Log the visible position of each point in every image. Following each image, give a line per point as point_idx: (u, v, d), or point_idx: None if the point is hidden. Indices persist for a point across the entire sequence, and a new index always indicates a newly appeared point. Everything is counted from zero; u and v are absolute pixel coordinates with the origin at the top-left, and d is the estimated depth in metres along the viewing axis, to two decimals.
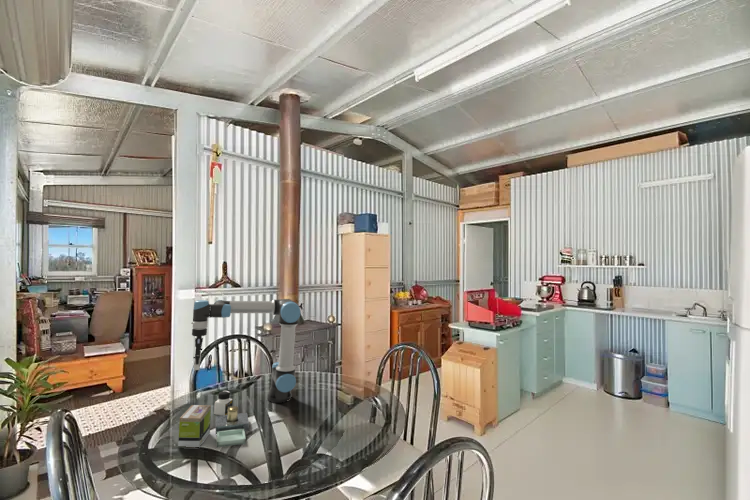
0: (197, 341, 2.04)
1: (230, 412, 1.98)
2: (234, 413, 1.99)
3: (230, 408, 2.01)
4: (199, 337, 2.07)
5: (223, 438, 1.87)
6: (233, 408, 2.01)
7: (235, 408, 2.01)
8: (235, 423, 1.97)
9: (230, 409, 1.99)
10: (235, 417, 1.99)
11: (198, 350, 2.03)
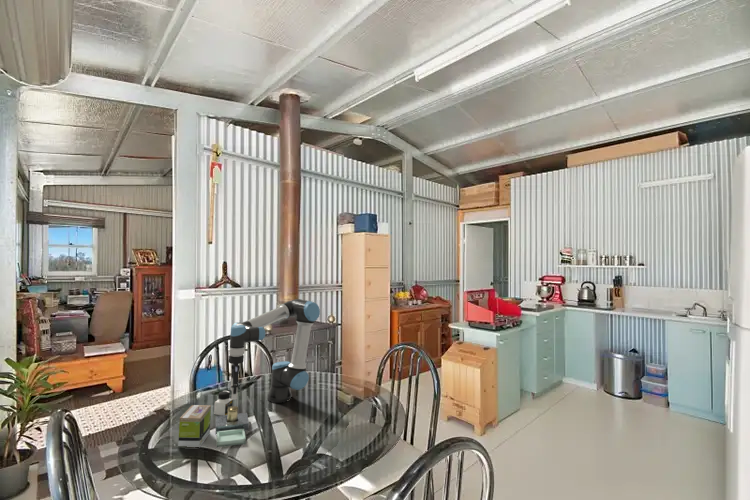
0: (235, 369, 1.94)
1: (230, 412, 1.98)
2: (234, 413, 1.99)
3: (230, 408, 2.01)
4: (236, 365, 1.98)
5: (223, 438, 1.87)
6: (233, 408, 2.01)
7: (235, 408, 2.01)
8: (235, 423, 1.97)
9: (230, 409, 1.99)
10: (235, 417, 1.99)
11: (236, 379, 1.93)
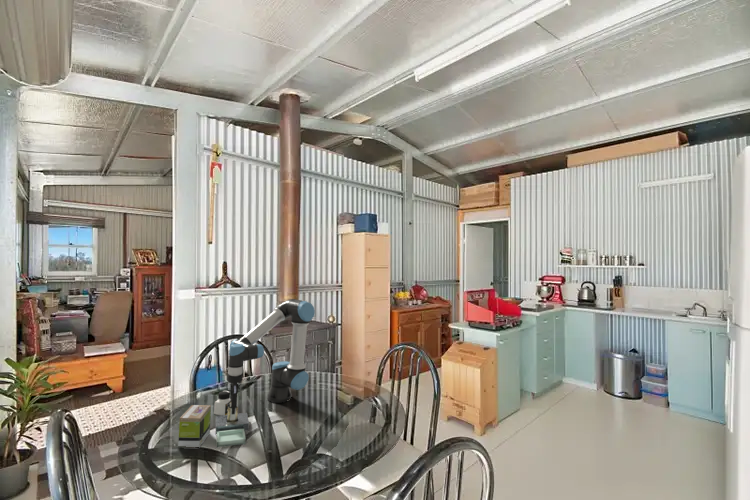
0: (233, 392, 1.95)
1: None
2: None
3: (230, 408, 2.01)
4: (235, 384, 1.98)
5: (223, 438, 1.87)
6: None
7: None
8: (235, 423, 1.97)
9: (230, 409, 1.99)
10: None
11: (234, 400, 1.95)
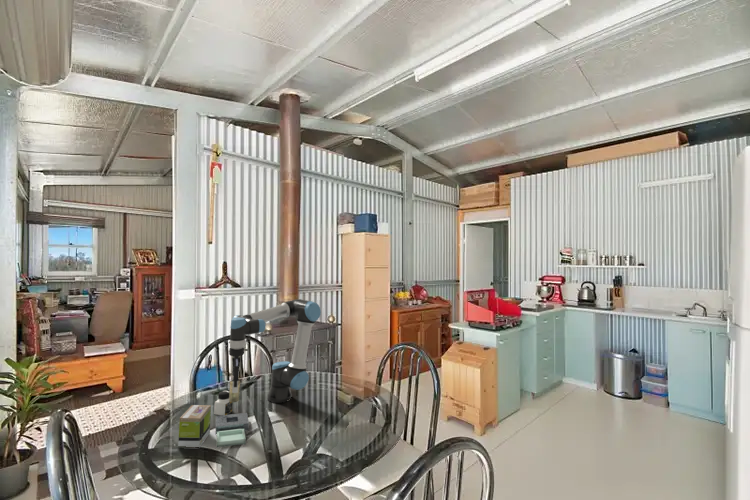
0: (235, 364, 1.95)
1: (232, 385, 1.99)
2: None
3: (232, 381, 2.01)
4: (237, 357, 1.98)
5: (223, 438, 1.87)
6: None
7: None
8: (235, 423, 1.97)
9: (232, 382, 2.00)
10: None
11: (237, 373, 1.95)
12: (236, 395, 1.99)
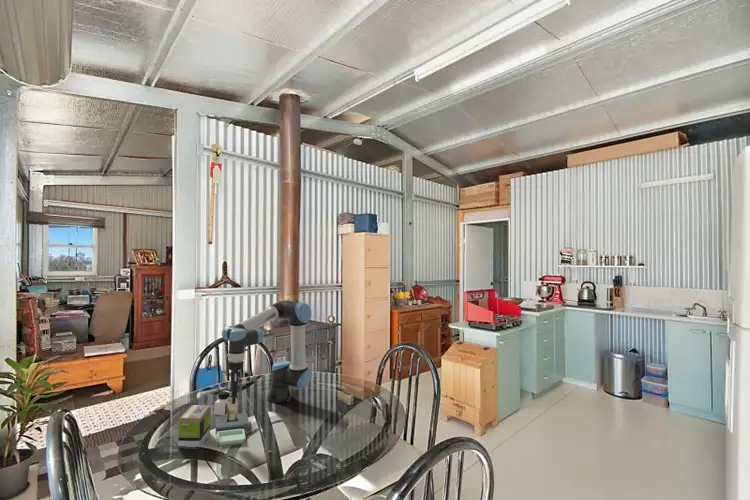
0: (234, 379, 1.81)
1: (230, 401, 1.85)
2: None
3: (230, 397, 1.87)
4: (236, 371, 1.84)
5: (223, 438, 1.87)
6: None
7: None
8: (235, 423, 1.97)
9: (230, 398, 1.86)
10: None
11: (235, 389, 1.82)
12: (234, 412, 1.86)
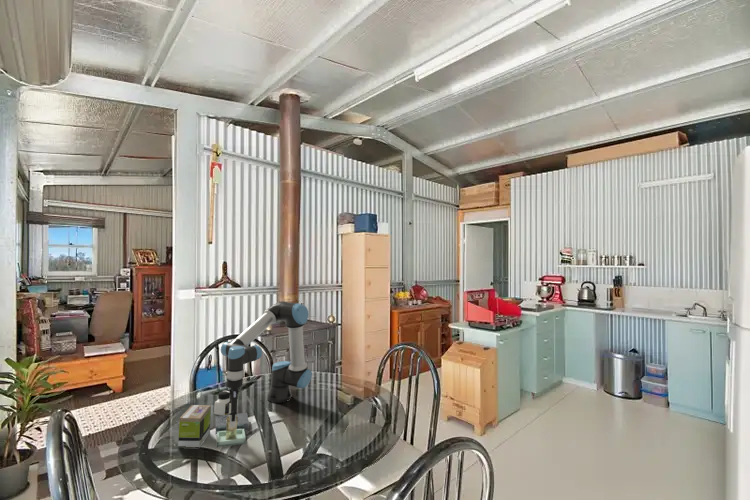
0: (233, 395, 1.81)
1: (229, 422, 1.85)
2: None
3: (229, 418, 1.87)
4: (235, 389, 1.84)
5: (223, 438, 1.87)
6: None
7: None
8: None
9: (229, 419, 1.86)
10: (234, 428, 1.86)
11: (234, 406, 1.80)
12: (233, 433, 1.86)
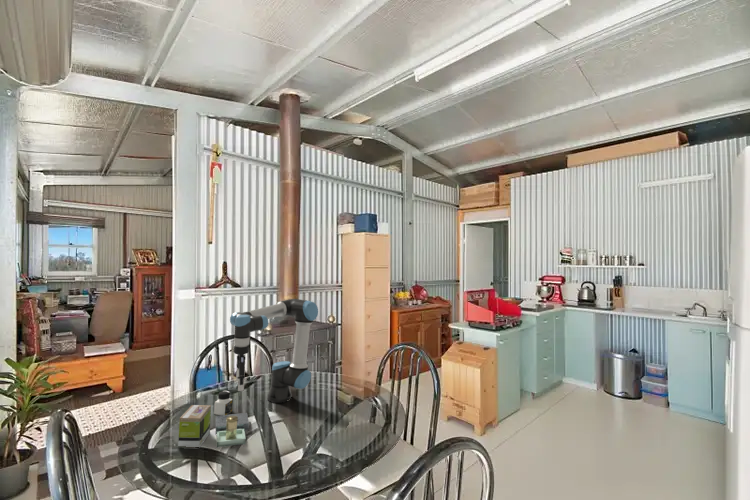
0: (241, 360, 1.89)
1: (229, 422, 1.85)
2: (233, 423, 1.86)
3: (229, 418, 1.87)
4: (242, 355, 1.92)
5: (223, 438, 1.87)
6: (232, 418, 1.88)
7: (234, 418, 1.88)
8: None
9: (229, 419, 1.86)
10: (234, 428, 1.86)
11: (242, 370, 1.88)
12: (233, 433, 1.86)
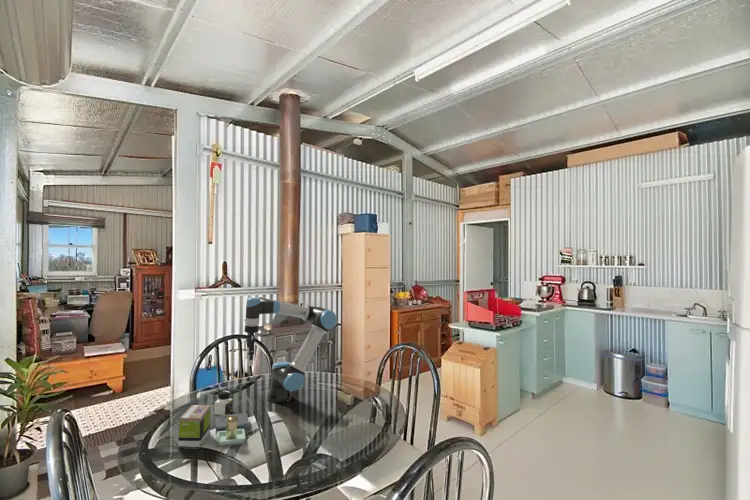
0: (251, 337, 2.09)
1: (229, 422, 1.85)
2: (233, 423, 1.86)
3: (229, 418, 1.87)
4: (252, 334, 2.12)
5: (223, 438, 1.87)
6: (232, 418, 1.88)
7: (234, 418, 1.88)
8: None
9: (229, 419, 1.86)
10: (234, 428, 1.86)
11: (252, 346, 2.07)
12: (233, 433, 1.86)
